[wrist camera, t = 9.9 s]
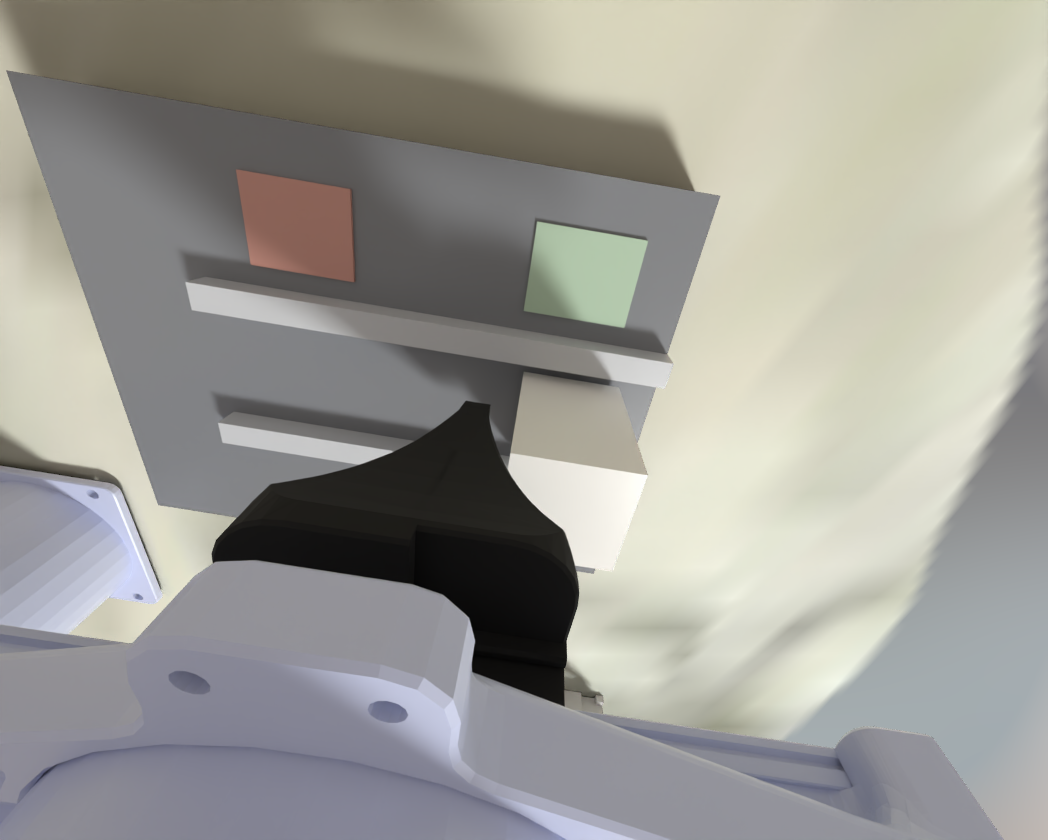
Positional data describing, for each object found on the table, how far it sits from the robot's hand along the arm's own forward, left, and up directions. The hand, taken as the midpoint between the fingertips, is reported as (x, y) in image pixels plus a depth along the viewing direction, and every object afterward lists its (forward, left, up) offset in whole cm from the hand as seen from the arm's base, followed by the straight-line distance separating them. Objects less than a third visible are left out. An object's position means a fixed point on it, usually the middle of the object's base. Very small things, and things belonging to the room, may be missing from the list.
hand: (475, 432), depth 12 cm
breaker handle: (+3, 0, -2) cm, 3 cm away
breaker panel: (-4, 0, -4) cm, 5 cm away
